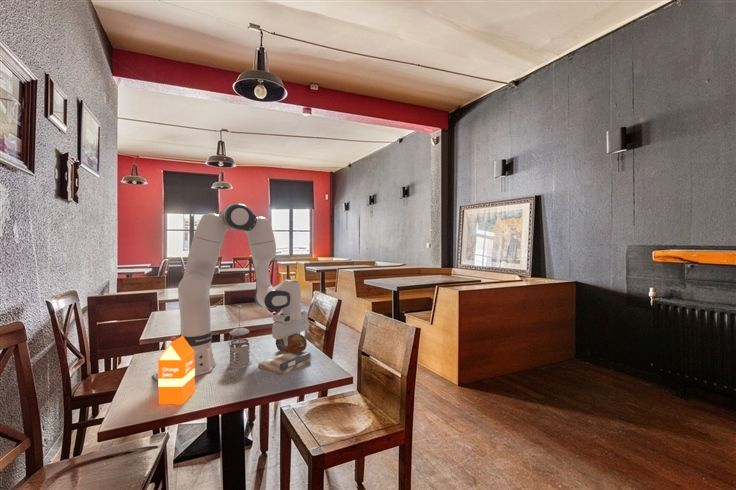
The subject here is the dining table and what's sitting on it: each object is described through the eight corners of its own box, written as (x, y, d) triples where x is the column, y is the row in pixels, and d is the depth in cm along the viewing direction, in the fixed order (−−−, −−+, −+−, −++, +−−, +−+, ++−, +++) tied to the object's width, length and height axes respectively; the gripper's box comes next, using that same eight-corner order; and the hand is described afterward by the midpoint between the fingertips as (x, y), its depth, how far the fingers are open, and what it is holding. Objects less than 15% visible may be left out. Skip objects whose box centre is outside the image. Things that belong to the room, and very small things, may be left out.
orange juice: (195, 392, 123) (194, 335, 122) (182, 404, 114) (181, 343, 113) (172, 392, 122) (171, 335, 121) (158, 405, 113) (156, 343, 113)
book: (282, 374, 138) (282, 370, 138) (258, 367, 145) (258, 363, 145) (310, 361, 151) (310, 358, 151) (286, 355, 159) (286, 352, 159)
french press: (235, 370, 142) (235, 308, 140) (220, 363, 149) (219, 304, 148) (256, 363, 149) (256, 304, 148) (241, 357, 156) (240, 301, 155)
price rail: (282, 370, 138) (282, 364, 138) (280, 370, 138) (280, 364, 138) (310, 358, 151) (310, 352, 151) (307, 357, 152) (307, 352, 152)
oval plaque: (275, 351, 165) (275, 333, 164) (279, 349, 168) (278, 331, 167) (304, 354, 160) (304, 336, 160) (307, 352, 163) (307, 334, 163)
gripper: (302, 309, 174) (302, 337, 174) (269, 317, 157) (270, 348, 157) (311, 310, 170) (311, 339, 171) (280, 319, 153) (280, 351, 154)
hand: (291, 343), depth 164 cm, fingers open, 4 cm apart
